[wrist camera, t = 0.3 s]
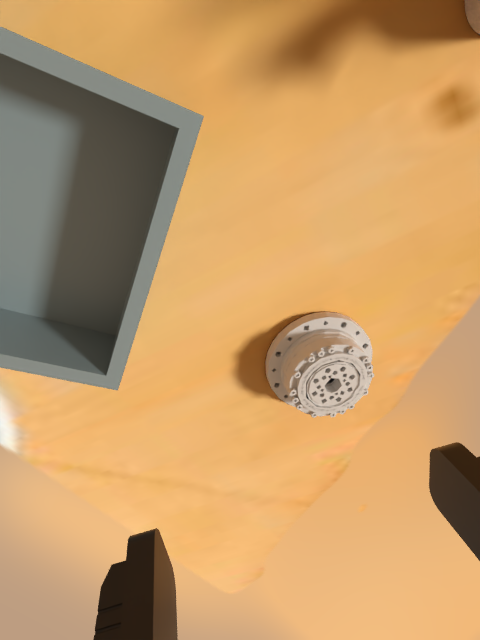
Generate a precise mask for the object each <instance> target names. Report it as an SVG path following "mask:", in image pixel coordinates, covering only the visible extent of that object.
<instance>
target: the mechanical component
mask: <svg viewBox="0 0 480 640" xmlns="http://www.w3.org/2000/svg"><path fill="white" fill-rule="evenodd" d="M371 361H372V347H371V342H370V339H369V337H368V336H367V334H366V333H365V331H364V330H363V329H362V328H361V327H360V326H359V324H358V323H356V322H355V321H354V320H352V319H351V318H350V317H348V316H345V315H342V314H339V313H335V312H318V313H312V314H309V315H306V316H303V317H301V318H299V319H297V320H295V321H294V322H292V323H290V324H289V325H288V326H286V327H285V328H284V329H283V330H282V331H281V332H280V333H279V334H278V335H277V336H276V338H275V339H274V340H273V342H272V344H271V346H270V348H269V350H268V352H267V357H266V361H265V365H266V377H267V379H268V382H269V384H270V387H271V388H272V390H273V391H274V392H275V394H276V395H277V397H278V398H279V399H281V400H282V401H284V402H285V403H287V404H289V405H292V406H294V407H296V408H297V409H298V410H300V411H302V412H304V413H306V414H310V415H311V416H312V417H313V418H314V417H316V416H327V415H330V416H331V417H335V416H336V414H337V413H340V414H344V413H345V412H346V409H348V408H349V409H353V408H354V404H356V403H357V402H358V401H359V400H360V398H361V397H362V396H363V395H367V394H368V390H367V389H368V388H369V385H370V382H371V380H372V378H373V377H374V374H373V372H372V371H373V370H372V369H373V365H372V364H371Z"/></svg>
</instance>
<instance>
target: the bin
mask: <svg viewBox="0 0 480 640" xmlns="http://www.w3.org/2000/svg"><path fill="white" fill-rule="evenodd" d="M203 117H204V116H202V115H200V114H197V113H195V112H193V111H191V110H188V109H186V108H184V107H182V106H179V105H177V104H175V103H173V102H170V101H168V100H166V99H163V98H161V97H159V96H157V95H154V94H152V93H150V92H148V91H145V90H143V89H141V88H139V87H136V86H134V85H132V84H129V83H127V82H125V81H123V80H120V79H118V78H116V77H114V76H111V75H109V74H107V73H105V72H102V71H100V70H98V69H95V68H93V67H91V66H89V65H86V64H84V63H82V62H80V61H77V60H75V59H73V58H70V57H68V56H66V55H64V54H61V53H59V52H57V51H55V50H52V49H50V48H48V47H46V46H43V45H41V44H39V43H36V42H34V41H32V40H30V39H27V38H25V37H23V36H21V35H18V34H16V33H14V32H12V31H9V30H7V29H5V28H2V27H0V367H1V368H6V369H11V370H16V371H22V372H27V373H32V374H37V375H42V376H47V377H52V378H57V379H62V380H67V381H72V382H78V383H83V384H88V385H93V386H98V387H103V388H108V389H113V390H118V388H119V385H120V382H121V379H122V375H123V372H124V369H125V366H126V363H127V359H128V356H129V353H130V350H131V347H132V343H133V340H134V337H135V334H136V331H137V328H138V324H139V321H140V318H141V315H142V312H143V308H144V305H145V302H146V299H147V296H148V293H149V289H150V286H151V283H152V280H153V277H154V273H155V270H156V267H157V264H158V261H159V257H160V254H161V251H162V248H163V245H164V242H165V238H166V235H167V232H168V229H169V226H170V222H171V219H172V216H173V213H174V210H175V206H176V203H177V200H178V197H179V194H180V191H181V187H182V184H183V181H184V178H185V175H186V171H187V168H188V165H189V162H190V159H191V155H192V152H193V149H194V146H195V143H196V140H197V136H198V133H199V130H200V127H201V124H202V120H203Z"/></svg>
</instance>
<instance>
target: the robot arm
mask: <svg viewBox="0 0 480 640" xmlns="http://www.w3.org/2000/svg"><path fill="white" fill-rule="evenodd" d="M429 488H430V493H431V496H432V499H433V501H434V503H435V505H436V506H437V508H438V509H439V511H440V512H441V513H442V514H443V516H444V517H445V518H446V519H447V521H448V522H449V523H450V524H451V526H452V527H453V528H454V529H455V531H456V532H457V533H458V534H459V536H460V537H461V538H462V539H463V541H464V542H465V543H466V544H467V546H468V547H469V548H470V549H471V551H472V552H473V553H474V554H475V556H476V557H477V558H478V559H479V561H480V457H477V458H476V457H475V456H474V455H473V454H472V453H471V452H470V451H469V450H468V449H467V448H465V446H463V445H462V444H460V443H452V444H449V445H446V446H442V447H438V448H435V449H432V450H431V452H430V479H429ZM94 640H177V613H176V588H175V578H174V573H173V568H172V564H171V561H170V559H169V556H168V553H167V551H166V548H165V545H164V543H163V540H162V537H161V535H160V532H159V530H158V529H157V528H156V529H153V530H150V531H146V532H143V533H139V534H136V535H132V536H130V537H129V539H128V546H127V557H126V561H123V562H119V563H116V564H113V565H112V566H111V568H110V570H109V572H108V574H107V576H106V578H105V580H104V582H103V584H102V586H101V591H100V598H99V605H98V615H97V619H96V626H95V635H94Z"/></svg>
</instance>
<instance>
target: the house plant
mask: <svg viewBox="0 0 480 640" xmlns="http://www.w3.org/2000/svg"><path fill="white" fill-rule="evenodd" d="M465 13H466V16H467V19H468V23H469V24H470V26H471V27H472V29H473V30H474V31H475V32H476V33H478V34H479V35H480V0H465Z"/></svg>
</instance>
